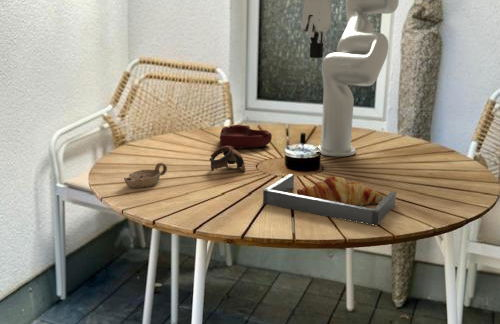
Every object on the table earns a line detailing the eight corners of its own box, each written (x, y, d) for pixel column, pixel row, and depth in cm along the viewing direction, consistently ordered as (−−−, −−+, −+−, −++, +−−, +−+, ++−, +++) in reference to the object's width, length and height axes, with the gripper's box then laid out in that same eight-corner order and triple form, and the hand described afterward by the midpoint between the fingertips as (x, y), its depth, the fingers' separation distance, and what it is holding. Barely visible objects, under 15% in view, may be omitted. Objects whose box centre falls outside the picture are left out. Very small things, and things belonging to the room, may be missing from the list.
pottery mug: (247, 177, 165) (234, 154, 162) (218, 189, 168) (204, 167, 164) (248, 155, 176) (236, 133, 172) (220, 167, 178) (207, 146, 174)
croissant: (379, 212, 149) (379, 181, 150) (387, 208, 139) (387, 174, 141) (295, 209, 149) (296, 178, 151) (297, 203, 140) (298, 170, 141)
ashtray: (204, 144, 198) (204, 130, 197) (240, 137, 209) (240, 123, 207) (239, 155, 186) (239, 140, 184) (276, 147, 196) (276, 132, 195)
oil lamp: (132, 193, 150) (132, 174, 149) (117, 186, 155) (116, 168, 154) (174, 182, 159) (174, 165, 157) (159, 176, 164) (158, 159, 163)
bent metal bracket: (289, 186, 157) (289, 173, 156) (394, 205, 144) (396, 192, 143) (263, 203, 144) (263, 189, 143) (376, 226, 131) (377, 211, 130)
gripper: (316, -11, 167) (314, 54, 173) (295, -12, 155) (292, 59, 160) (342, -11, 164) (338, 56, 169) (321, -11, 151) (318, 61, 157)
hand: (316, 57), depth 165 cm, fingers closed
